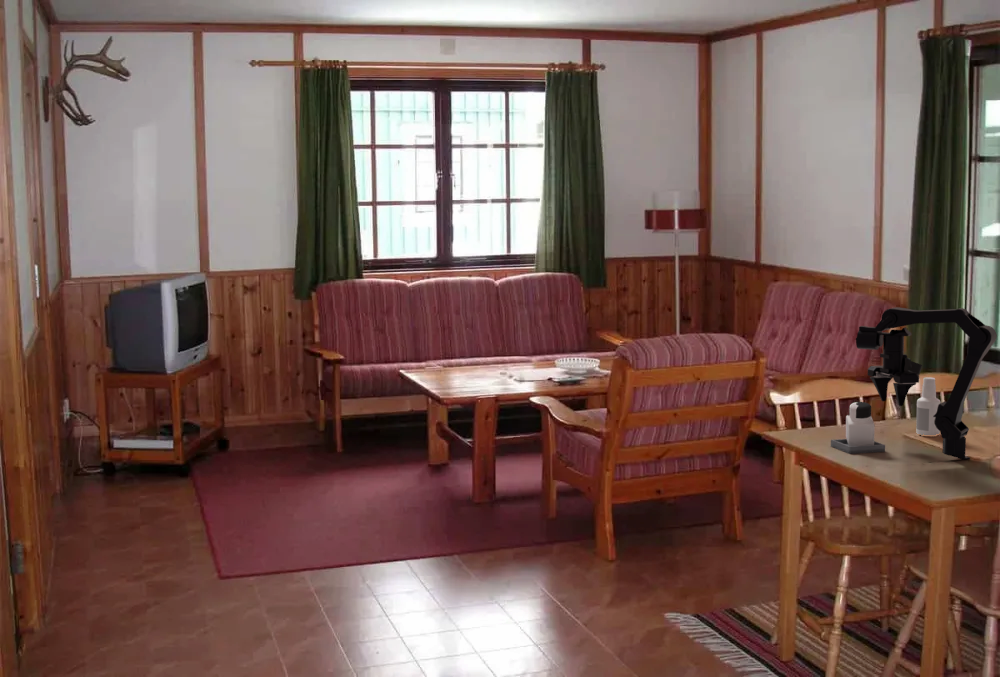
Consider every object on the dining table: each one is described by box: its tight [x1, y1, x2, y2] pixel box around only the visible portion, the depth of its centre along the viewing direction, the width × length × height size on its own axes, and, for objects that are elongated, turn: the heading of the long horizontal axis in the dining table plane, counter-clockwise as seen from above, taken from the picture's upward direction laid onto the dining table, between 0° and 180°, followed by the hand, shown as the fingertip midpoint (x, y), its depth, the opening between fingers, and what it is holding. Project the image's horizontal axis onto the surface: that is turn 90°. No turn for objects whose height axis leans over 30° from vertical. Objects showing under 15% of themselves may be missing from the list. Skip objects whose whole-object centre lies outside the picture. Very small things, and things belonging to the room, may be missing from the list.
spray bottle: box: [915, 376, 942, 435], centre depth 366 cm, size 7×7×18 cm
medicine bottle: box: [845, 401, 875, 446], centre depth 348 cm, size 7×7×12 cm
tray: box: [830, 438, 886, 454], centre depth 348 cm, size 11×11×2 cm
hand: (892, 403), depth 349 cm, fingers open, 9 cm apart
